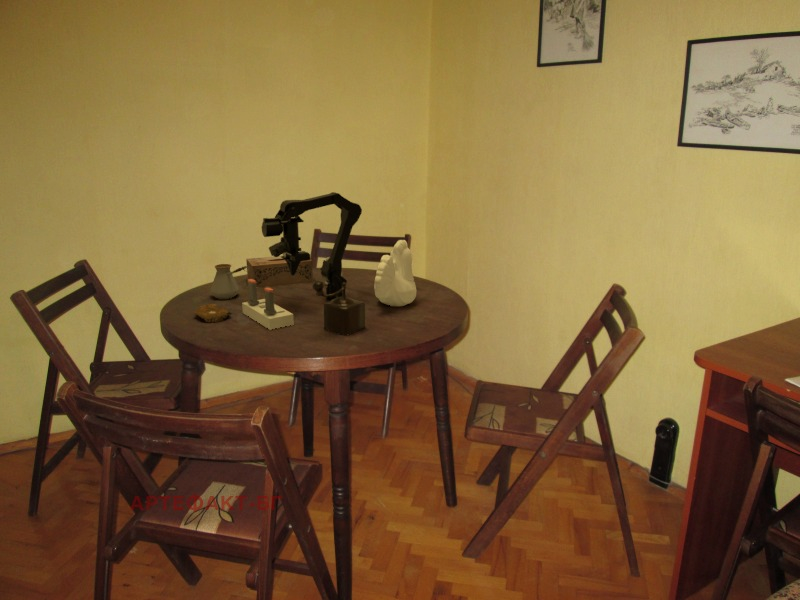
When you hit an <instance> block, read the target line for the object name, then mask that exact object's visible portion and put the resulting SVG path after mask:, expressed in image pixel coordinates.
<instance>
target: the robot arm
mask: <svg viewBox="0 0 800 600" xmlns="http://www.w3.org/2000/svg"><path fill="white" fill-rule="evenodd" d="M331 205H334V206H336V208H338V209H340V226H339V227H338V232H337V234H336V237H335V241H334V243H333V248H332V250H331V254H330V256H329V257H330V258H329V259H328V260H327V261H325V260H326V259H323V261H322V266H321V268H320V270H321V271H320V274H321V277H322V278H323V279H324V281H325V280H326V282H328V284H327V285H326V288H325V292H326V293H325V295H329V294H333V293H335V292H337V291H339V290H340V289H341V288H342V286H343V285H342V283H343V282H345V283H346V284H347V282H348V281H347V278H345V277H344V276H343V275H342V276H341V272H342V273H343V261H342V260H343V258H344V254H345V251H346V248H347V244H348V242H349V239H350V235H351V232H352V229H353V227H354V226H355V224H356V223H357V222H358V221H359V219H360V216H361V215H362V212H363V210H362V206H361V205H360V204H359V203H356V202H352V201H350V200H348V199H347V198H346V197H344V196H342V195H341V194H340V193H337V192H335V191H334V192H330V193H327V194H326V193H325V194H322V195H318V196H314V197H308V198H305V199H286V200H283V201H282V202H281V204H280V205H279V210H278V211H277V213H276V214H275V216H274V217H272V218H271V217H270V218H269V217H263V219H262V224H261V234H262V236H263V237H264V238H270V237H271V238H272V237H281V238H280V241H279V242H277V243H274V244H272V245H271V246H269V247H268V250H269V253H270V255H271V257H278V256H282V257H281V258H283V259H284V260H285V261H286V262H287V265H288V268H289V271H290V273H291V275H295V273H296V270H297V268H298V266H299V264H300V262H301V261H306V260H310V259H311V254H310V253H309V252H307V251H305V250H302V248H301V247H300V241H302V237H300V236H299V233H300V232H299V223H305V222H304V221H305V220H304V219H302V218H301V217H300V215H303V214H304V213H306V212H308V211H311V210H314V209H318V208H322V207H327V206H331ZM281 235H282V236H281ZM341 261H342V263H341ZM337 295H338V297H341V296H343V291H342V292H341V293H339V294H337ZM333 299H336V295H335V296H332V297H326V299H325V301H329V302H330V301H331V300H333Z"/></svg>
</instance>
